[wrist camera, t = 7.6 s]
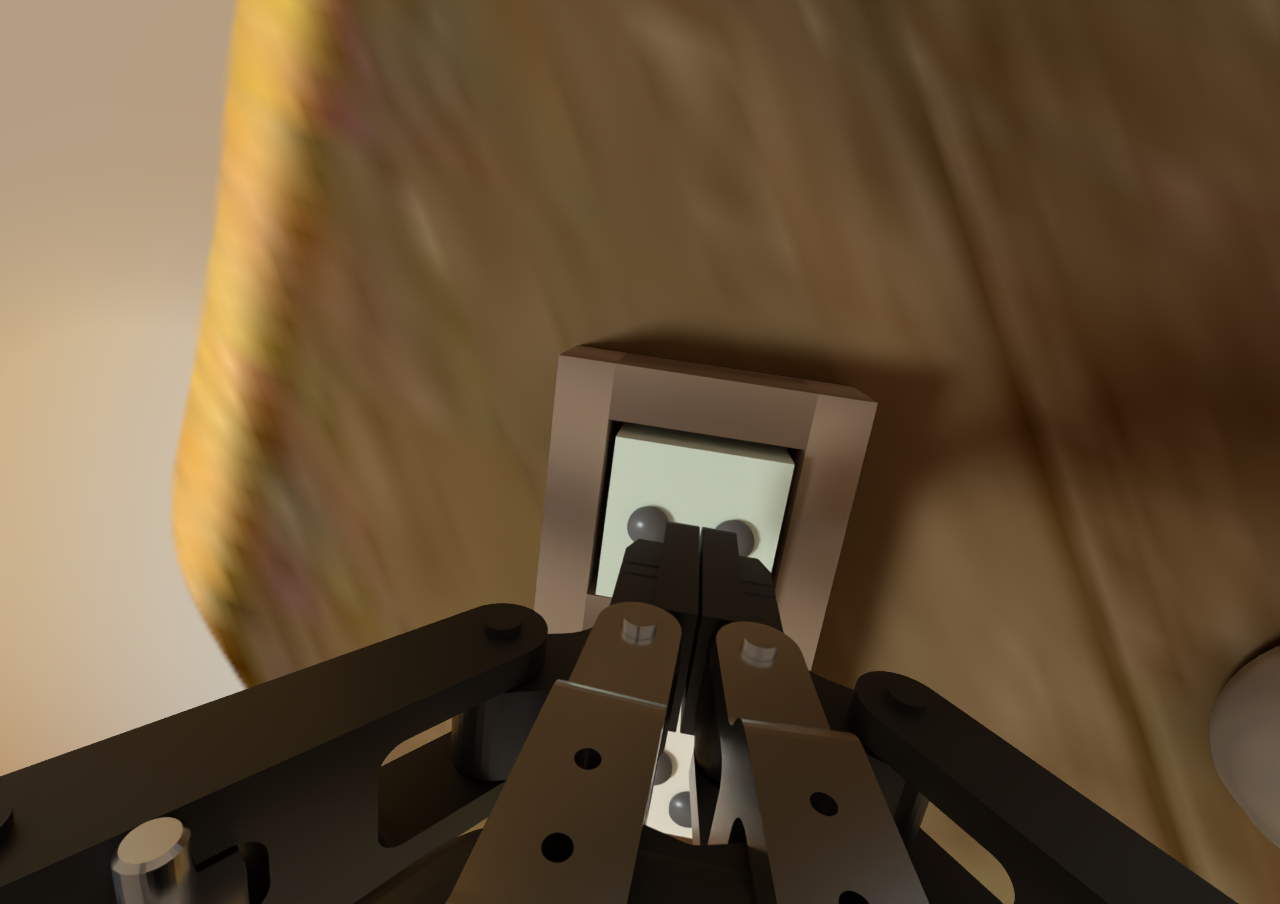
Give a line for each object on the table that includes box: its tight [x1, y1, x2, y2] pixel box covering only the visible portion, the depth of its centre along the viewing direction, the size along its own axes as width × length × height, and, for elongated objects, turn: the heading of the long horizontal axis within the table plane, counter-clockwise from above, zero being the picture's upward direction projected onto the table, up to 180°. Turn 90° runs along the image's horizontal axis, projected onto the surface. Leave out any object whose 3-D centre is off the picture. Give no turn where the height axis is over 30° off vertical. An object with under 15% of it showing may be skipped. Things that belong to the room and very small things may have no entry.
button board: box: [534, 345, 878, 840], centre depth 19 cm, size 21×8×2 cm, turn 172°
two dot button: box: [596, 422, 795, 597], centre depth 17 cm, size 4×4×3 cm
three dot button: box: [646, 708, 694, 838], centre depth 18 cm, size 4×4×3 cm
